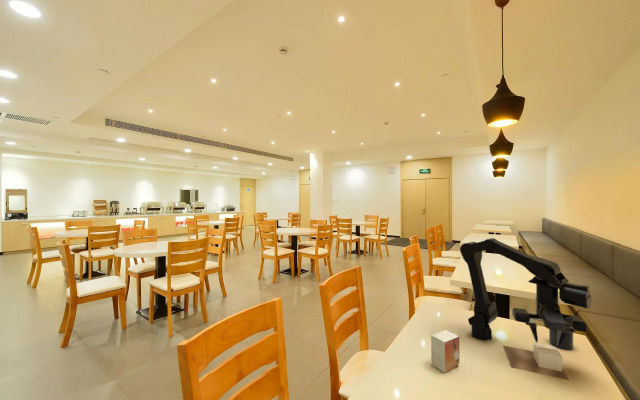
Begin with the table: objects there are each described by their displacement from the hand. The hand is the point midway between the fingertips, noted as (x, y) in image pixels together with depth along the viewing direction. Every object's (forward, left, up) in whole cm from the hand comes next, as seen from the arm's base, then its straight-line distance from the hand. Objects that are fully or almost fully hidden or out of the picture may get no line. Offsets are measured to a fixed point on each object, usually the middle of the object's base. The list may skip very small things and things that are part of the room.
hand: (547, 343), depth 89 cm
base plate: (-4, 0, -8) cm, 9 cm away
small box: (-32, -13, -8) cm, 35 cm away
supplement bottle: (+8, +16, -8) cm, 20 cm away
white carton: (0, 0, -7) cm, 7 cm away
